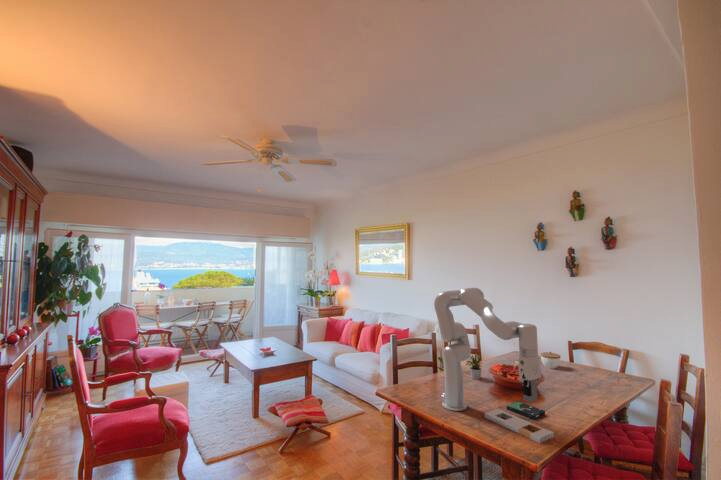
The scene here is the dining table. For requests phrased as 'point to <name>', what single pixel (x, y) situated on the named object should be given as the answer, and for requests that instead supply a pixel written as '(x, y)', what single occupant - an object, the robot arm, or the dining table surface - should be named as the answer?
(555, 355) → the lidded bowl
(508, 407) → the disk drive
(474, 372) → the house plant
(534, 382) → the steel block
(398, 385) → the dining table surface
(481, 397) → the dining table surface
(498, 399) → the dining table surface
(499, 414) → the grey slotted board
